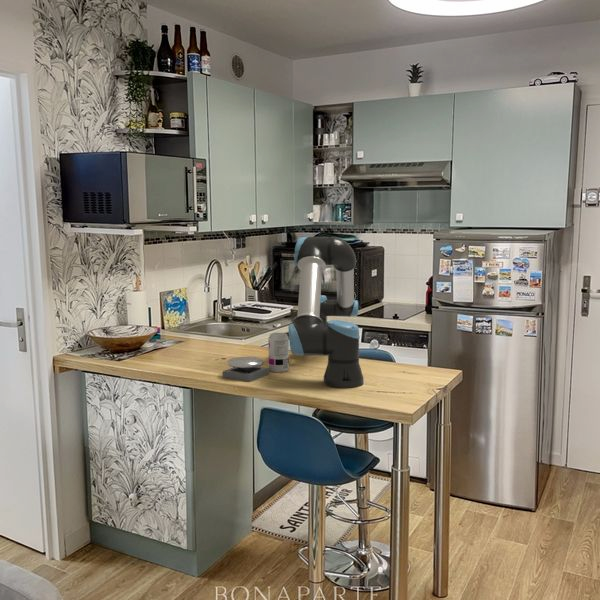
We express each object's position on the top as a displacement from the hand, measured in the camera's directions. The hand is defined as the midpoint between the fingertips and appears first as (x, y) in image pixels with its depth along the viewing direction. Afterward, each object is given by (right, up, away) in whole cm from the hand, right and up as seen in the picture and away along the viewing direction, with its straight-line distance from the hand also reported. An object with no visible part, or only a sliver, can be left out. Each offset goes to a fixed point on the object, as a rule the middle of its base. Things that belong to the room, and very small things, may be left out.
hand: (289, 342), depth 269 cm
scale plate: (-17, -10, -17) cm, 26 cm away
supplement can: (-4, -11, -8) cm, 14 cm away
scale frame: (-17, -12, -16) cm, 26 cm away
